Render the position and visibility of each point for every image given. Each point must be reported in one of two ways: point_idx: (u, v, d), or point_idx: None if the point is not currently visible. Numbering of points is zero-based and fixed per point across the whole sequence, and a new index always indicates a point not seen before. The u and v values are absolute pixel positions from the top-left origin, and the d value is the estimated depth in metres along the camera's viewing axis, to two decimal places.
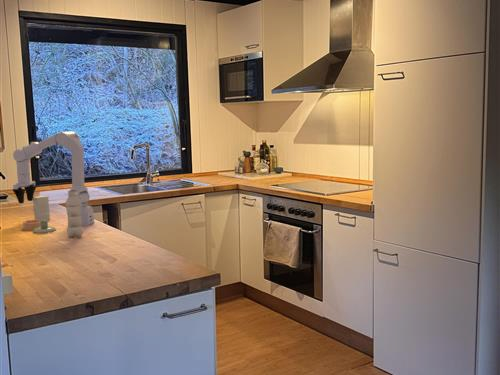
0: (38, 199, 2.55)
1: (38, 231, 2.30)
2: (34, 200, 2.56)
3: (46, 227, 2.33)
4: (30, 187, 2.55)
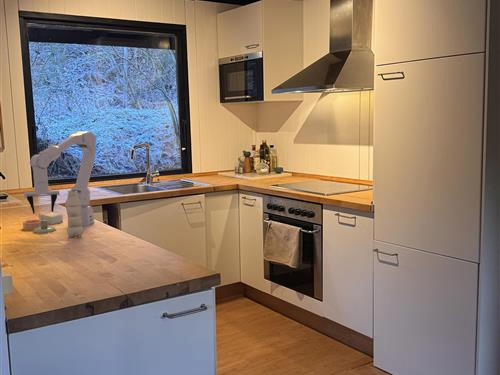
0: None
1: (38, 231, 2.30)
2: (49, 219, 2.49)
3: (46, 227, 2.33)
4: (51, 197, 2.33)
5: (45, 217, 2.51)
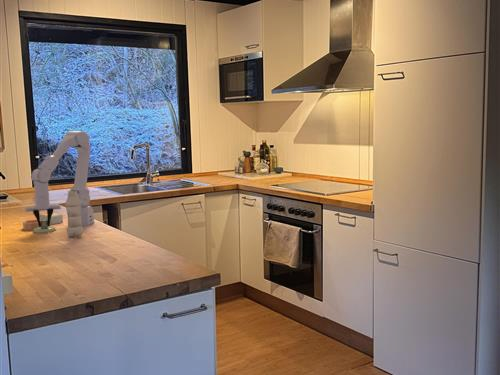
0: None
1: (38, 231, 2.30)
2: None
3: (46, 227, 2.33)
4: (47, 211, 2.33)
5: (45, 217, 2.51)
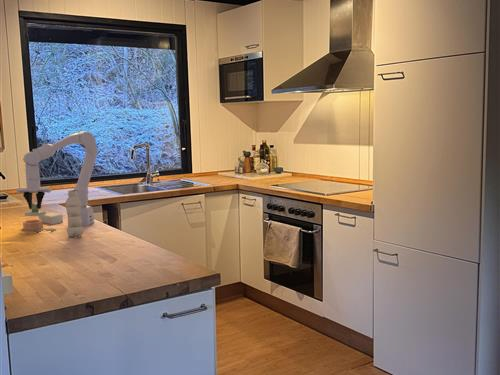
0: None
1: (26, 214, 2.33)
2: (49, 219, 2.49)
3: (36, 210, 2.36)
4: None
5: (45, 217, 2.51)
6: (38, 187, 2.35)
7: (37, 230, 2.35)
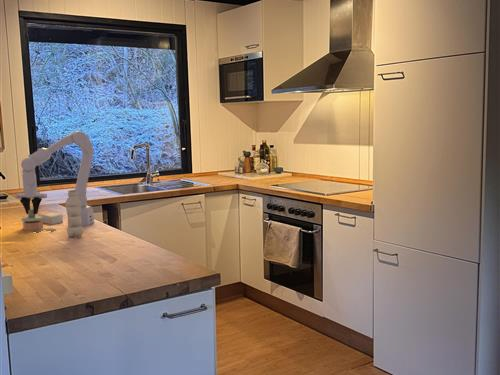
0: None
1: (22, 219, 2.36)
2: (49, 219, 2.49)
3: (32, 216, 2.38)
4: None
5: (45, 217, 2.51)
6: (34, 193, 2.37)
7: (37, 230, 2.35)
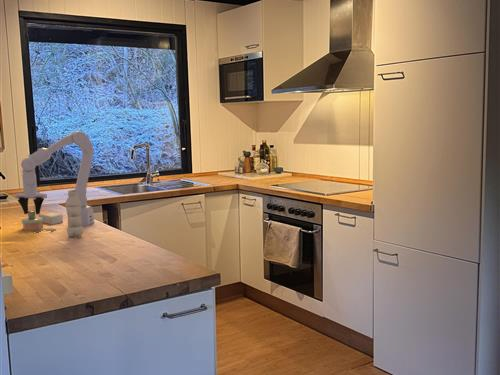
0: None
1: (23, 221, 2.36)
2: (49, 219, 2.49)
3: (32, 218, 2.38)
4: None
5: (45, 217, 2.51)
6: (34, 193, 2.37)
7: (37, 230, 2.35)
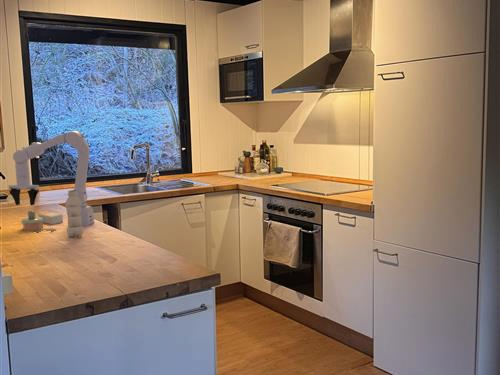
0: None
1: (23, 221, 2.36)
2: (49, 219, 2.49)
3: (32, 218, 2.38)
4: None
5: (45, 217, 2.51)
6: (26, 184, 2.41)
7: (37, 230, 2.35)
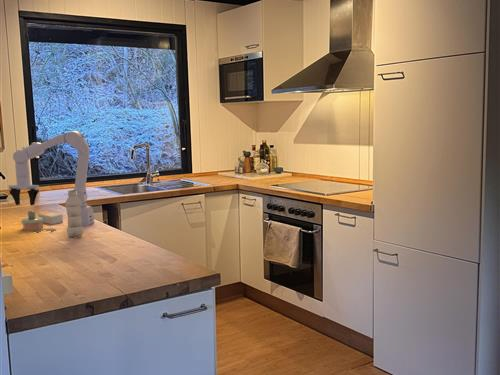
0: None
1: (23, 221, 2.36)
2: (49, 219, 2.49)
3: (32, 218, 2.38)
4: None
5: (45, 217, 2.51)
6: (26, 184, 2.41)
7: (37, 230, 2.35)
